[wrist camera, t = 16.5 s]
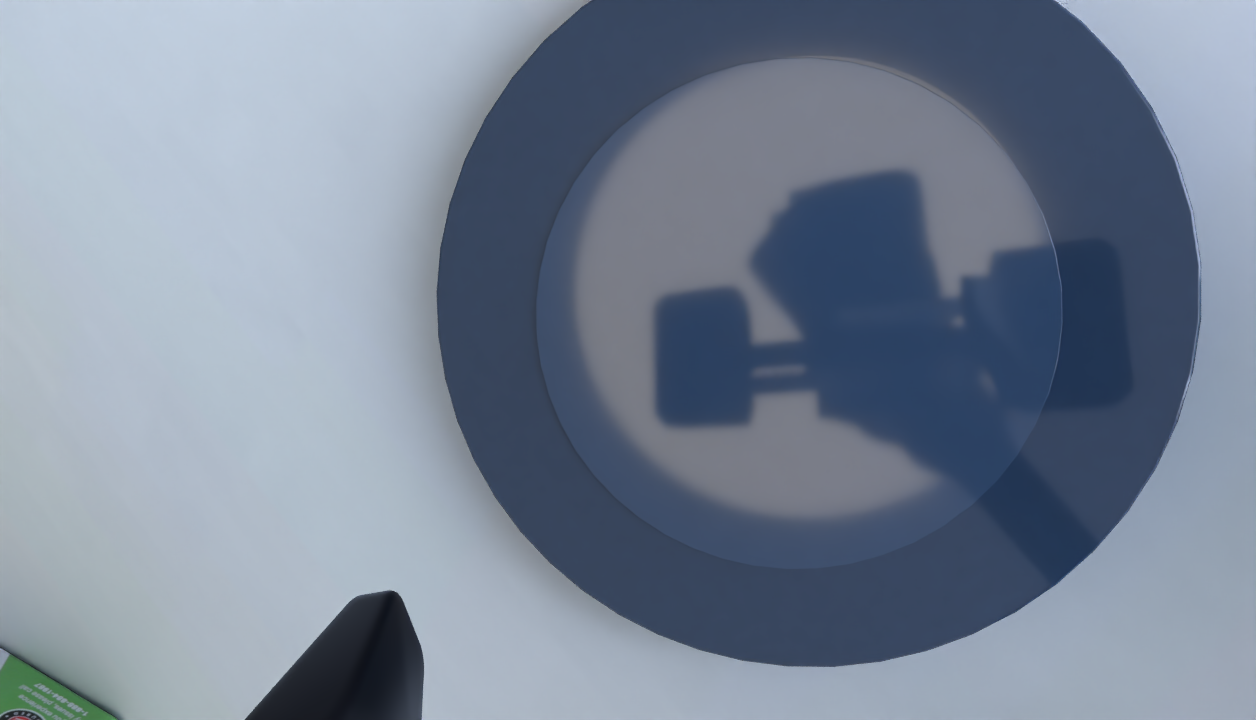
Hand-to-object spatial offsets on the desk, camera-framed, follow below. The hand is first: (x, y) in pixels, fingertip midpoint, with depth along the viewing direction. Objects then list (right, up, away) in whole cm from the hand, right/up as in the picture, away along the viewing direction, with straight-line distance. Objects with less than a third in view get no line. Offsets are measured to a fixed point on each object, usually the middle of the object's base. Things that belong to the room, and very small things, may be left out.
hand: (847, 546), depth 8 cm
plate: (+1, +3, +10) cm, 10 cm away
